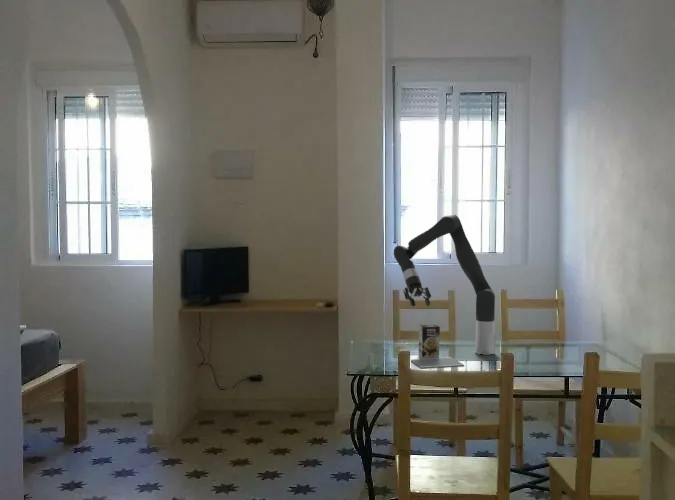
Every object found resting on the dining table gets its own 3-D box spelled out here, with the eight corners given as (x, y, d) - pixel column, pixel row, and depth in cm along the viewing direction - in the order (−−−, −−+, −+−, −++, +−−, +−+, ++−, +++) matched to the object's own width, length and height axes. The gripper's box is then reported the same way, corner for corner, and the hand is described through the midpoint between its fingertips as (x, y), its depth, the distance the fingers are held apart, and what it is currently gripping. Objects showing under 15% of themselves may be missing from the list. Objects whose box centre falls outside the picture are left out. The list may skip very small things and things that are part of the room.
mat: (451, 358, 384) (451, 357, 384) (464, 366, 369) (464, 364, 369) (409, 360, 379) (409, 359, 379) (420, 368, 364) (420, 367, 363)
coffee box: (422, 359, 383) (422, 327, 381) (418, 356, 389) (418, 324, 388) (439, 358, 384) (440, 326, 383) (435, 355, 391) (436, 324, 389)
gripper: (403, 275, 396) (412, 302, 388) (426, 275, 402) (436, 301, 394) (397, 283, 402) (406, 309, 393) (420, 282, 408) (429, 309, 400)
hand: (421, 305), depth 394 cm, fingers open, 8 cm apart
